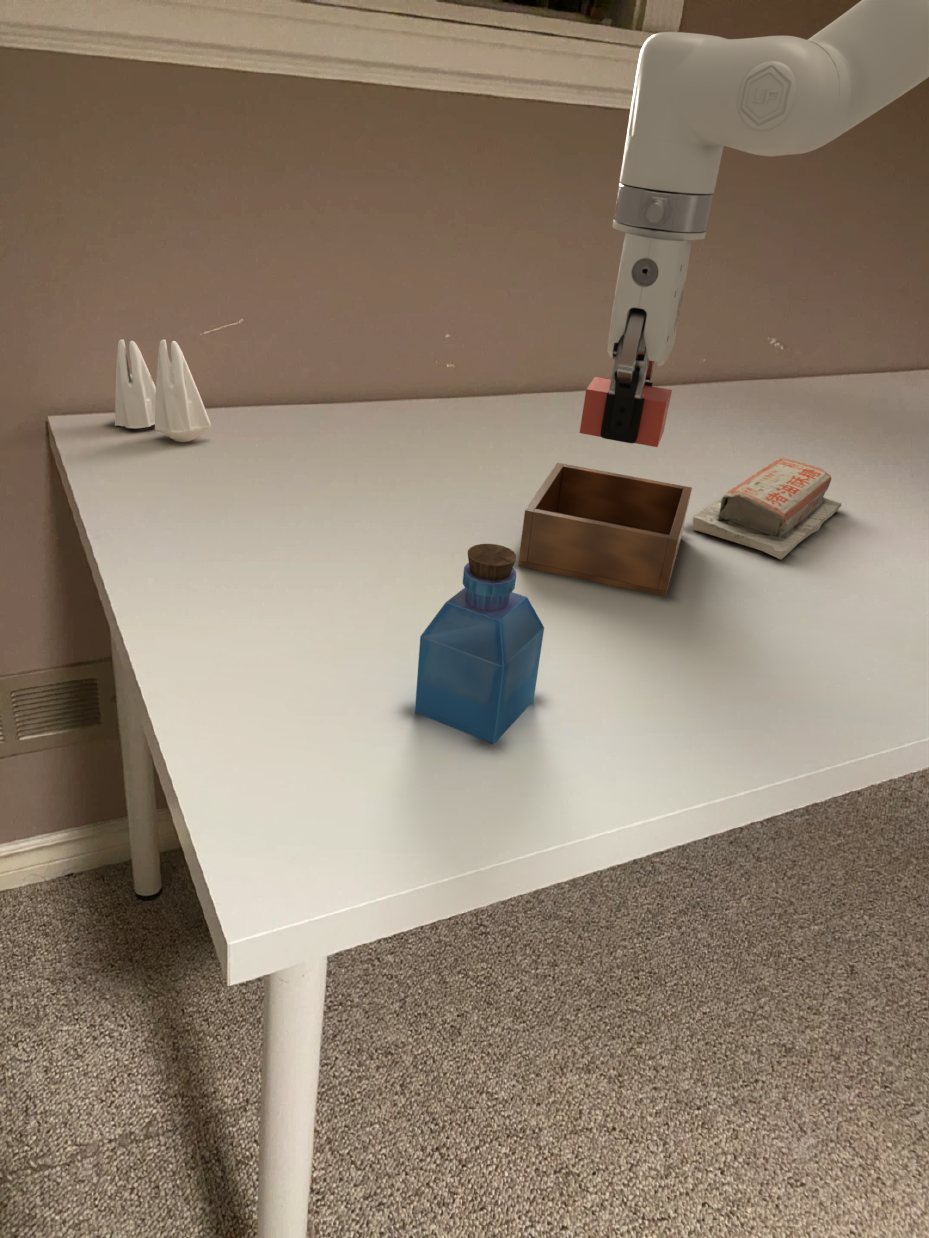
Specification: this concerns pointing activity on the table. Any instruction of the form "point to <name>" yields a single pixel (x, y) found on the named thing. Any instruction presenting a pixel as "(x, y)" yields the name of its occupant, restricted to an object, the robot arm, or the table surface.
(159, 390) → the shaker set
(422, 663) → the perfume bottle
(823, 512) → the packaged product
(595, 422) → the block
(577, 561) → the holder
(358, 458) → the table surface
